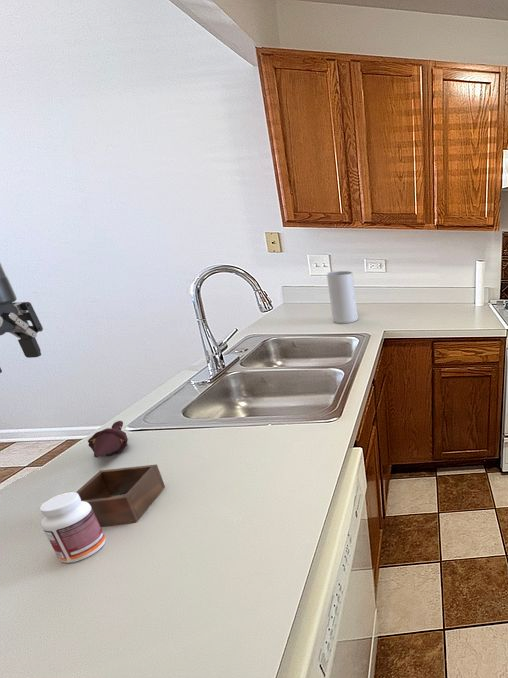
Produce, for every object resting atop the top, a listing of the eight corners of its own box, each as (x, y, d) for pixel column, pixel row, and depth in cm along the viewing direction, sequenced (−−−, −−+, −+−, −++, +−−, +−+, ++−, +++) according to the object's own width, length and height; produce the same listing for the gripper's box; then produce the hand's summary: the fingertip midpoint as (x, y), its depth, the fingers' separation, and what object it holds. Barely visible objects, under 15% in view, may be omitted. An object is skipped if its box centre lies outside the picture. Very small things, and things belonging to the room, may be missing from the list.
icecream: (116, 442, 92) (139, 417, 105) (73, 442, 88) (102, 417, 102) (116, 469, 93) (138, 442, 106) (73, 470, 90) (102, 441, 103)
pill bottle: (114, 533, 75) (93, 486, 71) (93, 560, 69) (69, 510, 65) (74, 540, 73) (50, 492, 69) (50, 567, 68) (22, 517, 64)
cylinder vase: (353, 316, 218) (347, 270, 209) (361, 321, 209) (355, 273, 200) (330, 319, 212) (323, 272, 202) (337, 325, 202) (330, 276, 193)
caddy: (73, 530, 75) (61, 505, 73) (109, 493, 85) (100, 470, 83) (136, 522, 77) (126, 497, 75) (165, 486, 87) (157, 464, 85)
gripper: (-14, 271, 73) (23, 353, 79) (-102, 286, 60) (-50, 382, 66) (34, 270, 74) (67, 350, 80) (-42, 284, 61) (4, 379, 67)
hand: (14, 365), depth 73 cm, fingers open, 8 cm apart
